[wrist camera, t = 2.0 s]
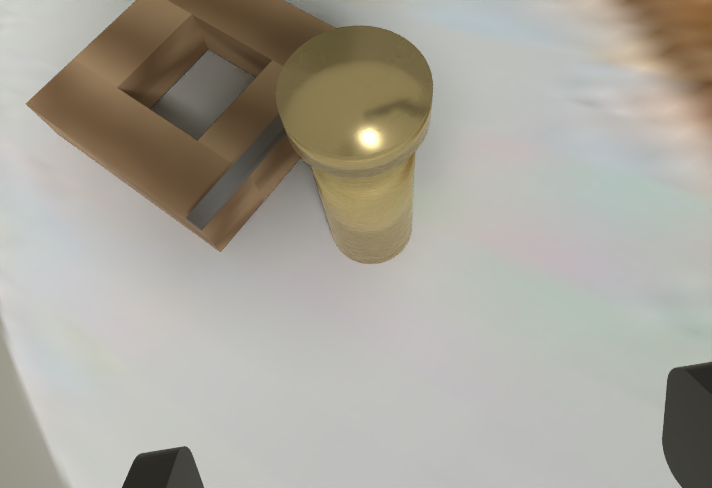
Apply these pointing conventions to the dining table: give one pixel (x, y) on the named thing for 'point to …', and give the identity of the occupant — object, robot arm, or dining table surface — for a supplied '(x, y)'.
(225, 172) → the jig
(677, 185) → the dining table surface
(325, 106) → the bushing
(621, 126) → the dining table surface
